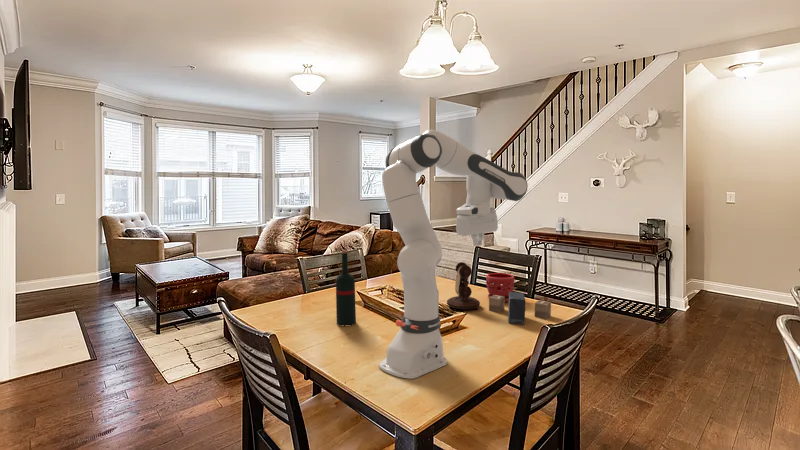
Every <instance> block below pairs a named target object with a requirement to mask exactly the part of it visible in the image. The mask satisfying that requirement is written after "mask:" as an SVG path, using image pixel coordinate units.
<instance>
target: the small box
mask: <svg viewBox="0 0 800 450" xmlns="http://www.w3.org/2000/svg"><path fill="white" fill-rule="evenodd" d="M507 311H508V313H507V321H508V324H511V325H512V324H513V325H525V321H526V298H525V293H524V292H518V291H517V292H516V291H512V292H509V301H508V309H507Z"/></svg>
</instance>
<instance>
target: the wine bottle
mask: <svg viewBox="0 0 800 450" xmlns="http://www.w3.org/2000/svg"><path fill="white" fill-rule="evenodd" d="M341 251H342V253H341V264H342V265H341V267H342V268H341V270H342V273H340V274H339V275H337V277H336V278H335V298H336V299H335V301H336V303H335V305H336V308H335V309H336V315H335V316H336V325H337V324H339V325H344V326H343V327H346V326H345V325H351V326H353V325H352V324H354V323H355V324H356V323H357V317H356V314H357V312H356V309H357V308H356V283H355V281H356V279H355V278H354V276H353V274H351V273H350V272H348V271H349V269H348V268H349V265H348V262H349V261H348V260H349V259H348V253H347V252H348V251H347V249H342V250H341ZM355 324H354V325H355ZM339 325H338V326H339Z"/></svg>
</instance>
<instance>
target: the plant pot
mask: <svg viewBox="0 0 800 450" xmlns="http://www.w3.org/2000/svg"><path fill="white" fill-rule="evenodd" d="M485 276H486V277H485V278H486V279H485V280H486V281H485V282H486V289H487V292H488V294H487V298H488V299H489V297H491V296H493V295H498V296H503V297H505V303H506V302H509V292H514V291H513V290H514V287H515V275H514V274H511V273H501V272H494V273H492V272H491V273H487V274H486V275H485Z"/></svg>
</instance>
